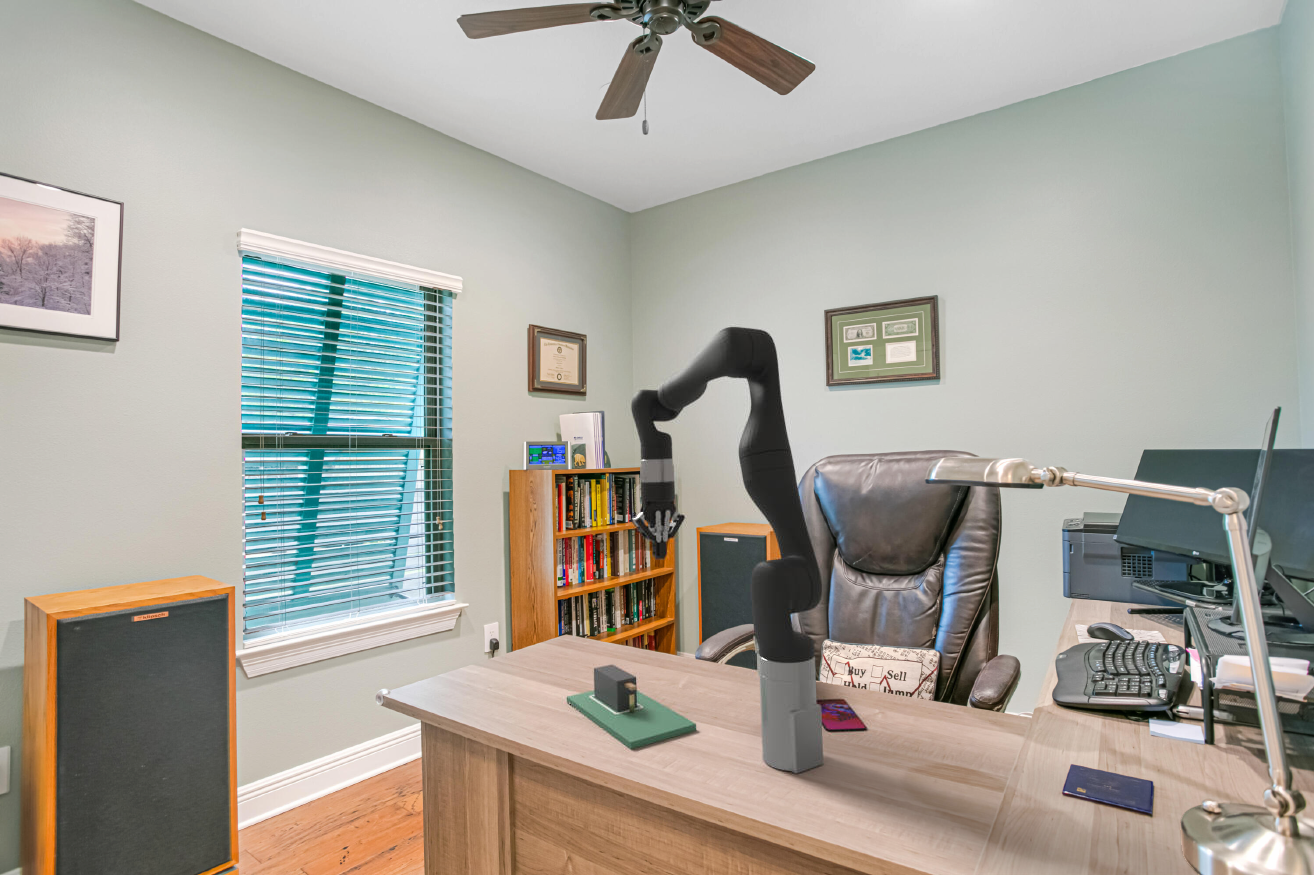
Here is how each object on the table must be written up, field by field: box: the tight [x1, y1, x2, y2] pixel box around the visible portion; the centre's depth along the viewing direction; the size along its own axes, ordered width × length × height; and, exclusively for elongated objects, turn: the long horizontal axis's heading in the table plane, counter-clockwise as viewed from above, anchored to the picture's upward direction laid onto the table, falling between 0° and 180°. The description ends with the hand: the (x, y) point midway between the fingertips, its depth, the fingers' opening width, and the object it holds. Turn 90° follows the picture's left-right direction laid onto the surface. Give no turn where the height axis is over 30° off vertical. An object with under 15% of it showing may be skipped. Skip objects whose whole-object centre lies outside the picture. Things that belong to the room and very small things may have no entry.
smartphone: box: [816, 698, 868, 733], centre depth 129 cm, size 8×1×15 cm
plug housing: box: [593, 664, 638, 712], centre depth 135 cm, size 13×4×6 cm, turn 31°
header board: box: [566, 690, 697, 750], centre depth 132 cm, size 28×14×1 cm, turn 31°
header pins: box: [629, 694, 635, 713], centre depth 137 cm, size 15×1×4 cm, turn 31°
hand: (659, 558), depth 146 cm, fingers closed
